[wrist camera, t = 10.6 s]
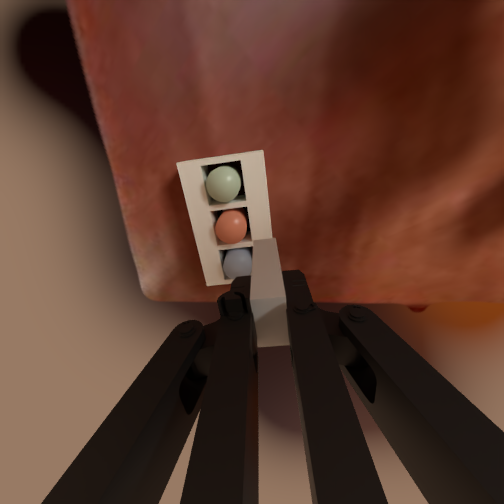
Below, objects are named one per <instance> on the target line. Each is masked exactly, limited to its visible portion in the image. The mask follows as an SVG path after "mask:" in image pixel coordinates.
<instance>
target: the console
mask: <svg viewBox="0 0 504 504" xmlns="http://www.w3.org/2000/svg"><path fill="white" fill-rule="evenodd" d="M238 160H241V166H242V173H243V180H244V187H245V194H246V195H240V196H236V197H235V198H234V199H233V200H231V201H229V202H219V201H216V200H215V199H213V198H212V197H211V196H210V195H209V193H208V191H207V188H206V180H207V177H208V175H209V170H208V165H210V164H217V163H224V162H231V161H238ZM176 164H177V168H178V172H179V176H180V180H181V184H182V188H183V192H184V196H185V200H186V204H187V208H188V212H189V216H190V220H191V224H192V228H193V232H194V236H195V240H196V244H197V248H198V252H199V256H200V260H201V264H202V268H203V272H204V276H205V280H206V284H207V286H213V285H222V284H231V283H232V281H233V280H234V279H231V278H230V277H228V276H227V275H226V274H225V272H224V269H223V264H224V260H225V257H226V256H225V251H224V250H225V249H233V248H242V247H250V246H253V240H260V239H269V238H272V229H271V219H270V210H269V200H268V190H267V181H266V171H265V161H264V152H263V150H258V151H251V152H244V153H237V154H230V155H223V156H216V157H209V158H202V159H195V160H189V161H183V162H179V163H176ZM239 207H247V208H248V215H249V222H250V229H251V231H248V232H246V235H245V237H244V238H243V239H242V240H241V241H240V242H238V243H235V244H228V243H225V242H223V241H221V240H220V239H219V238H218V236H217V234H216V231H215V226H216V223H217V221H218V215H217V210H224V209H232V208H239ZM251 272H252V271H251ZM250 275H251V273H250Z"/></svg>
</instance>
